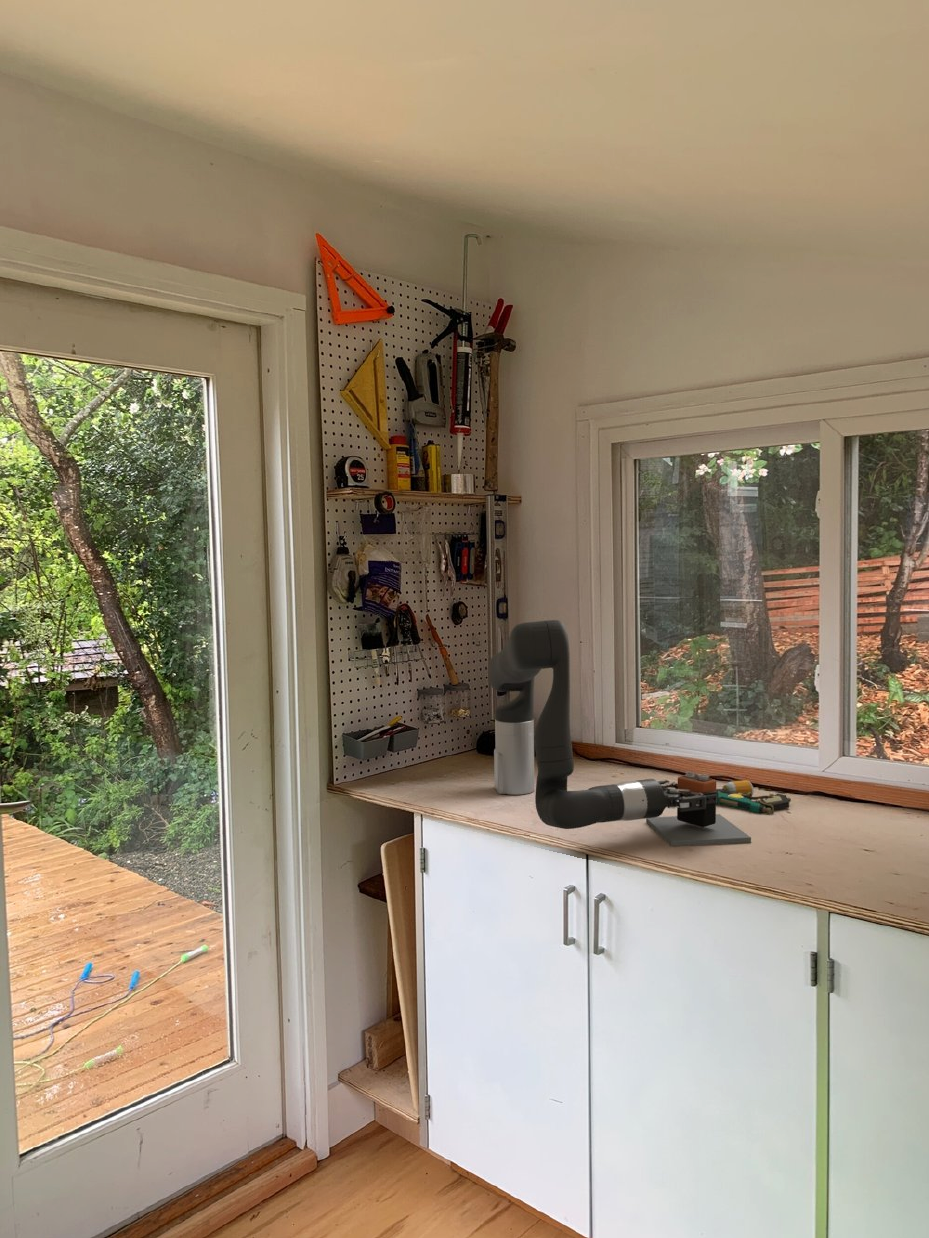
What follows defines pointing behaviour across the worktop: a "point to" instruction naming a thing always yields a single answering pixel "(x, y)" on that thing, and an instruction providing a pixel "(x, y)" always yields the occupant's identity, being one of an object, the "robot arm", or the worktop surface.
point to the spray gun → (750, 798)
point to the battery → (696, 816)
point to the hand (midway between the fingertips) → (704, 791)
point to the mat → (697, 832)
